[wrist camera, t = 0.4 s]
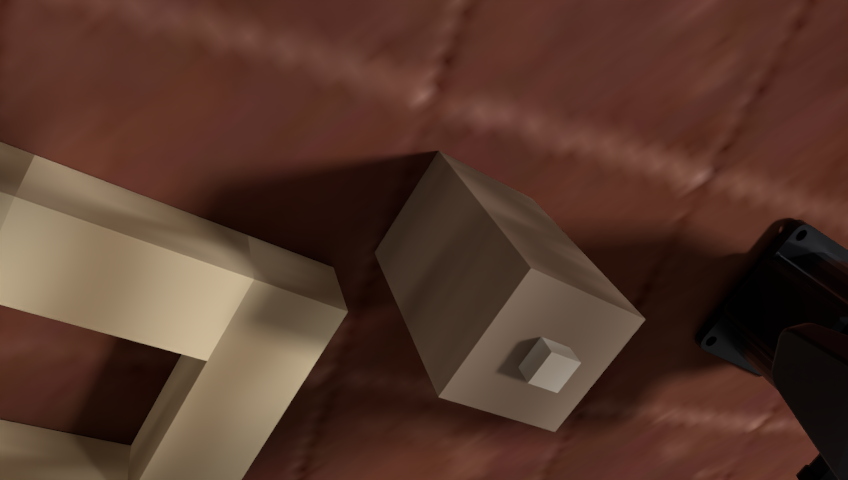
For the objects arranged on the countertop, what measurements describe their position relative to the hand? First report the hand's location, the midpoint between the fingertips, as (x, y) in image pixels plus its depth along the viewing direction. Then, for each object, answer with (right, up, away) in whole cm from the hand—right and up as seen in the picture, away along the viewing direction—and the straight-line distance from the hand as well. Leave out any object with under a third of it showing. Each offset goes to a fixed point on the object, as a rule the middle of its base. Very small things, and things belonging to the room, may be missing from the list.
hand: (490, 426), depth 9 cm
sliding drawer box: (0, +3, +14) cm, 14 cm away
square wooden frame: (-12, -1, +12) cm, 17 cm away
